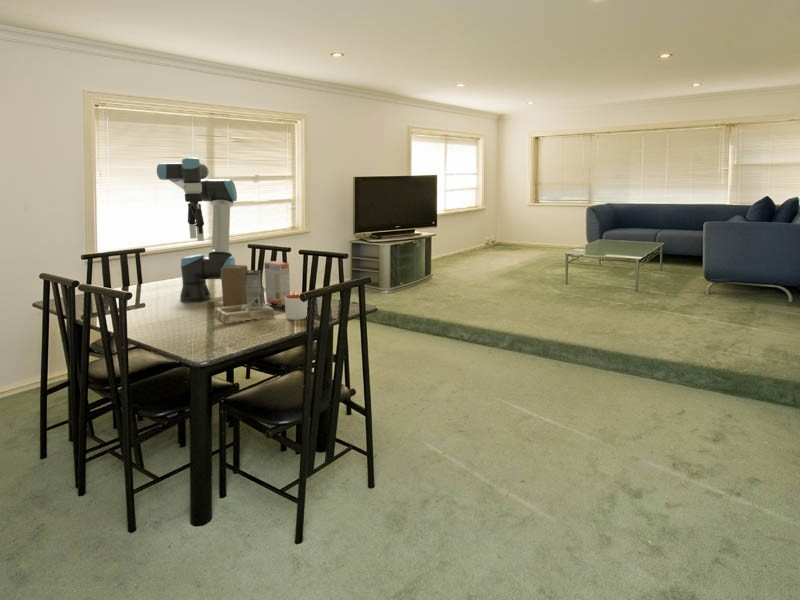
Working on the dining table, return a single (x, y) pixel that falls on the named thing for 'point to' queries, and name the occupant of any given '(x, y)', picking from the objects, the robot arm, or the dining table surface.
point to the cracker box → (277, 282)
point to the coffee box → (254, 288)
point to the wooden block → (234, 285)
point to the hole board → (242, 313)
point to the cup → (295, 307)
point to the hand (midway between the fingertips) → (197, 239)
